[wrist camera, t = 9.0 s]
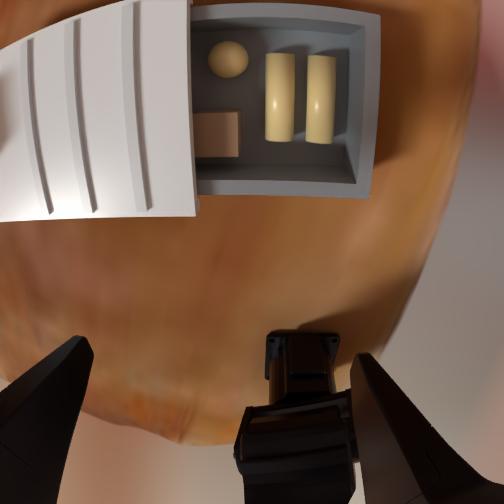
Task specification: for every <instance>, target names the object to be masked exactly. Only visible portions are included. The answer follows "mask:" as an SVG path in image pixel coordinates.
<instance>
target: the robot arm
mask: <svg viewBox="0 0 504 504" xmlns="http://www.w3.org/2000/svg"><path fill="white" fill-rule="evenodd" d="M339 342H340V337H339V335H338V334H336V333H330V334H278V333H271V334H268V335H267V337H266V357H265V379H266V380H269V405H265V406H257V407H253V406H249V407H246V409H245V412H244V415H243V418H242V421H241V425H240V428H239V431H238V435H237V438H236V441H235V445H234V453H233V457H234V459H235V460H236V464H237V467H238V470H239V472H240V474H241V475H242V476H243V483H244V499H245V504H348V503H349V501H350V499H351V497H352V496H353V493H354V492H355V489H356V474H355V465H354V463H358V462H360V465H361V472H362V479H363V486H364V494H365V502H366V504H504V485H502V484H499V483H495V482H492V481H489V480H487V479H486V478H484V477H483V476H481V475H480V474H479V473H478V472H477V471H475V470H474V469H473V468H472V467H471V466H470V465H469V464H468V463H467V462H466V461H465V460H464V459H463V458H462V457H461V456H460V455H458V454H457V453H456V452H455V451H454V450H453V449H452V448H451V447H450V446H449V445H448V443H447V442H446V441H445V440H444V439H443V438H442V437H441V436H440V434H439V433H438V432H437V431H436V430H435V429H434V427H431V424H430V423H429V422H428V420H427V419H426V418H425V417H424V416H423V414H422V413H421V412H420V411H419V410H418V409H417V407H416V406H415V405H414V404H413V403H412V402H411V400H410V399H409V398H408V397H407V396H406V395H405V393H404V392H403V391H402V390H401V389H400V388H399V386H398V385H397V384H396V383H395V382H394V381H393V379H392V378H391V377H390V376H389V375H388V374H387V372H386V371H385V370H384V369H383V368H382V367H381V366H380V364H379V363H378V362H377V361H376V360H375V359H374V357H373V356H372V355H371V354H370V353H368V352H364V353H357V354H356V355H355V358H354V361H353V364H352V366H351V369H350V382H351V388H350V389H346V391H342V392H336V385H335V379H334V372H333V364H334V360H335V357H336V353H337V350H338V346H339ZM93 359H94V353H93V350H92V348H91V346H90V344H89V342H88V340H87V338H86V337H84V336H78V335H75V336H73V337H72V338H71V339H69V340H68V341H66V342H65V343H64V344H62V345H61V346H60V347H58V348H57V349H56V350H54V351H53V352H52V353H50V354H49V355H48V356H46V357H45V358H44V359H42V360H41V361H40V362H38V363H37V364H36V365H34V366H33V367H32V368H31V369H29V370H28V371H27V372H25V373H24V374H23V375H21V376H20V377H19V378H18V379H16V380H15V381H14V382H12V383H11V384H10V385H8V386H7V388H5V389H4V390H2V391H1V392H0V504H56V503H57V498H58V494H59V488H60V484H61V479H62V475H63V471H64V467H65V462H66V459H67V455H68V451H69V447H70V443H71V440H72V436H73V433H74V429H75V426H76V422H77V419H78V416H79V413H80V409H81V406H82V403H83V400H84V397H85V393H86V389H87V385H88V380H89V376H90V371H91V367H92V363H93Z"/></svg>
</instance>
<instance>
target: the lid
mask: <svg viewBox="0 0 504 504" xmlns="http://www.w3.org/2000/svg"><path fill="white" fill-rule="evenodd" d="M192 4H193V0H124V1H120V2H117V3H113V4H110V5H106V6H103V7H100V8H96V9H93V10H90V11H87V12H84V13H82V14H79V15H76V16H73V17H71V18H68V19H65V20H63V21H60V22H58V23H55V24H53V25H51V26H48V27H46V28H44V29H42V30H39V31H37V32H35V33H33V34H31V35H29V36H27V37H25V38H23V39H21V40H19V41H17V42H15V43H13V44H11V45H9V46H7V47H5V48H4V49H2V50H0V222H7V221H25V220H46V219H71V218H103V217H163V216H196V215H197V213H198V211H199V209H200V197H197V185H196V171H195V155H194V138H193V118H192V93H191V54H190V5H192Z"/></svg>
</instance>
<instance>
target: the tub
mask: <svg viewBox="0 0 504 504" xmlns="http://www.w3.org/2000/svg"><path fill="white" fill-rule="evenodd" d="M190 54H191V93H192V118H193V138H194V155H195V171H196V185H197V195H285V196H314V197H336V198H355V199H369V195H370V187H371V180H372V172H373V164H374V155H375V145H376V134H377V122H378V109H379V91H380V63H381V24H380V15H377V14H372V13H367V12H361V11H356V10H349V9H343V8H335V7H327V6H317V5H306V4H290V3H232V4H216V5H205V6H195V7H190Z"/></svg>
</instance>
